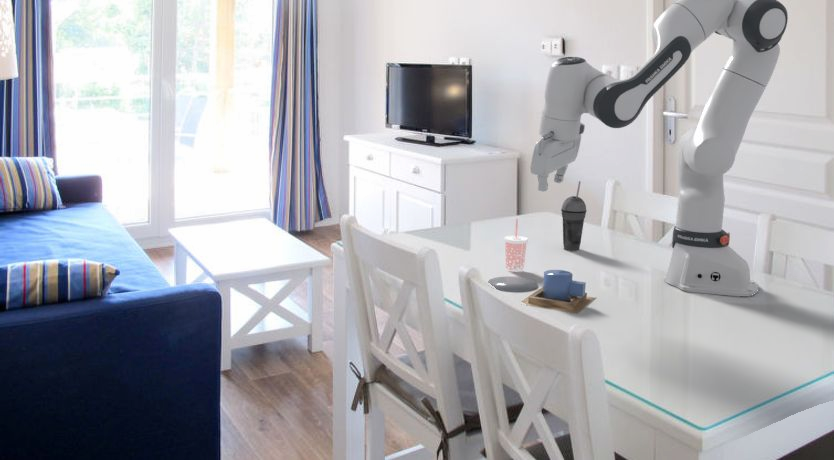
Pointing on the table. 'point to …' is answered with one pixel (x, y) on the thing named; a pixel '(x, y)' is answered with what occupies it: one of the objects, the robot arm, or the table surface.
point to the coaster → (513, 284)
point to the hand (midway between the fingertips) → (550, 186)
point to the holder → (558, 302)
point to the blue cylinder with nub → (561, 286)
